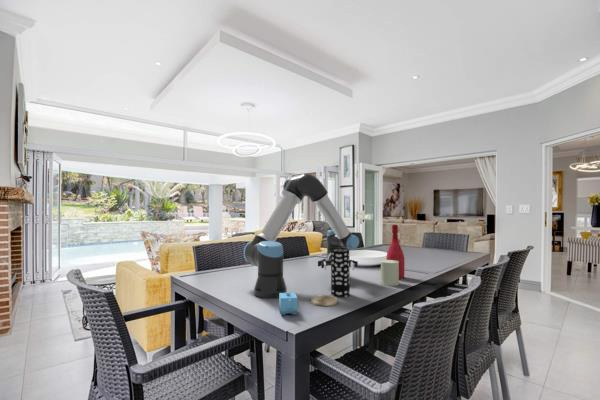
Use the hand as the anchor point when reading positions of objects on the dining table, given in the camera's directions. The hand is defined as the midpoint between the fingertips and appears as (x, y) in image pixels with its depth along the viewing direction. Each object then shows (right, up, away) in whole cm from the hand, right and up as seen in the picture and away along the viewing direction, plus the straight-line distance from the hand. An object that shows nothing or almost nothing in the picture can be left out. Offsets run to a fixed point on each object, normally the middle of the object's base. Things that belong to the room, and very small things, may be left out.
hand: (339, 266), depth 144 cm
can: (+28, -12, +12) cm, 32 cm away
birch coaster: (-9, -10, -19) cm, 24 cm away
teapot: (-23, -10, -33) cm, 42 cm away
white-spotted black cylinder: (-1, -11, -9) cm, 14 cm away
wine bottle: (+35, -12, +25) cm, 45 cm away
